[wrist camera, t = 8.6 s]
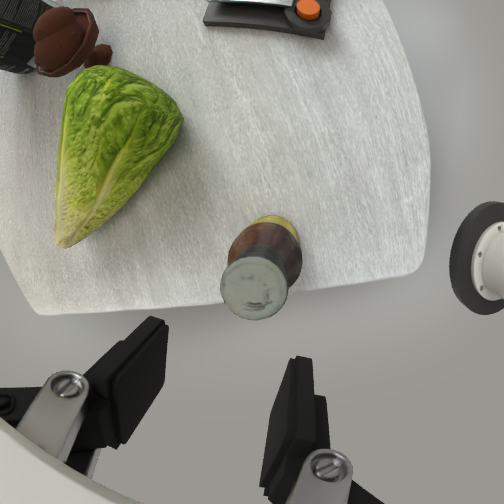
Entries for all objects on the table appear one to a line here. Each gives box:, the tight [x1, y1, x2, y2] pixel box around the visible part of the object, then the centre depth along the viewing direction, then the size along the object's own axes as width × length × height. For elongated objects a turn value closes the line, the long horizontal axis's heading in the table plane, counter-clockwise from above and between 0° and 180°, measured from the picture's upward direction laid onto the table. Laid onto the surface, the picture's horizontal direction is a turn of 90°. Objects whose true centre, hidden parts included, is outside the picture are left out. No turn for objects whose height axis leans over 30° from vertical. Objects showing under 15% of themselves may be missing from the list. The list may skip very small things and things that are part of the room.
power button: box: [297, 0, 320, 20], centre depth 26 cm, size 3×3×2 cm
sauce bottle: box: [220, 215, 302, 320], centre depth 27 cm, size 7×6×20 cm
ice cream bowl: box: [33, 6, 113, 77], centre depth 26 cm, size 11×11×15 cm
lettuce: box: [54, 65, 183, 249], centre depth 31 cm, size 14×24×15 cm
